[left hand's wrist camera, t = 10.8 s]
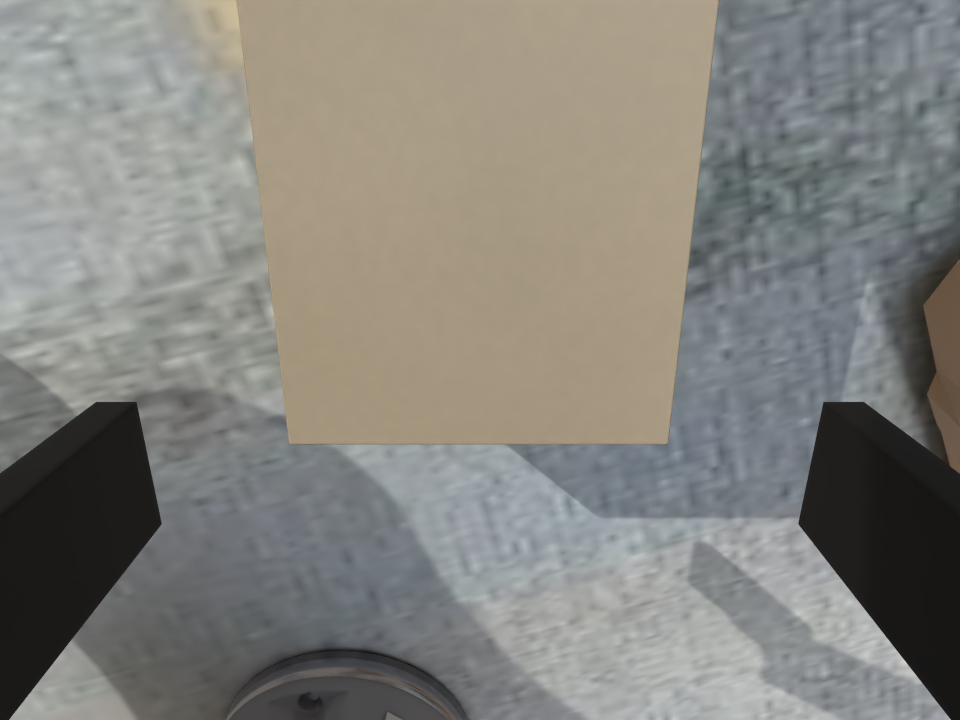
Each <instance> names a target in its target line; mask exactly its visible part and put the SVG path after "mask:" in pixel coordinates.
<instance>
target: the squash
mask: <svg viewBox="0 0 960 720" xmlns="http://www.w3.org/2000/svg"><path fill="white" fill-rule="evenodd" d="M923 308H924V313H925V318H926V322H927V327H928V332H929V337H930V341H931V346H932V351H933V356H934V361H935V365H936V370H937V371H936V374H935V376H934V379H933V381H932V383H931V386H930V388H929V390H928V393H927V395H928V398H929V402H930V405H931V408H932V411H933V414H934V417H935V420H936V423H937V425H938V427H939V429H940V431H941V433H942V437H943V441H944V445H945V449H946V452H947V456H948V460H949V464H950V467H952V468H953V469H954V470H956V471H957V472H958V473H960V259H959V260H958V261H957V263H956V264H955V265H954V266H953V268H952V269H951V270H950V272H949V273H948V274H947V275H946V277H945V278H944V279H943V281H942V282H941V283H940V284H939V286H938V287H937V288H936V290H935V291H934V292H933V293H932V295H931V296H930V297H929V299H928V300H927V301H926V302H925V304H924V305H923Z"/></svg>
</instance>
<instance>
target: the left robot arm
mask: <svg viewBox="0 0 960 720" xmlns="http://www.w3.org/2000/svg"><path fill="white" fill-rule="evenodd" d="M161 524H162V523H161V519H160V514H159V509H158V504H157V499H156V494H155V490H154V485H153V480H152V475H151V470H150V466H149V461H148V456H147V451H146V446H145V441H144V437H143V432H142V427H141V422H140V417H139V413H138V408H137V403H136V402H96V403H94V404H93V405H92V406H90V407H89V408H88V409H86V410H85V411H84V412H82V413H81V414H80V415H78V416H77V417H76V418H74V419H73V420H71V421H70V422H69V423H67V424H66V425H65V426H63V427H62V428H61V429H59V430H58V431H57V432H55V433H54V434H53V435H51V436H50V437H49V438H47V439H46V440H45V441H43V442H42V443H41V444H39V445H38V446H37V447H35V448H34V449H33V450H31V451H30V452H29V453H27V454H26V455H25V456H23V457H22V458H20V459H19V460H18V461H16V462H15V463H14V464H12V465H11V466H10V467H8V468H7V469H6V470H4V471H3V472H2V473H0V720H9V719H10V718H11V716H12V715H13V714H14V713H15V711H16V710H17V709H18V707H19V706H20V705H21V704H22V702H23V701H24V700H25V698H26V697H27V696H28V695H29V693H30V692H31V691H32V689H33V688H34V687H35V686H36V684H37V683H38V682H39V681H40V679H41V678H42V677H43V675H44V674H45V673H46V672H47V670H48V669H49V668H50V666H51V665H52V664H53V663H54V661H55V660H56V659H57V657H58V656H59V655H60V654H61V652H62V651H63V650H64V648H65V647H66V646H67V645H68V643H69V642H70V641H71V640H72V638H73V637H74V636H75V634H76V633H77V632H78V631H79V629H80V628H81V627H82V625H83V624H84V623H85V622H86V620H87V619H88V618H89V616H90V615H91V614H92V613H93V611H94V610H95V609H96V608H97V606H98V605H99V604H100V602H101V601H102V600H103V599H104V597H105V596H106V595H107V593H108V592H109V591H110V590H111V588H112V587H113V586H114V584H115V583H116V582H117V581H118V579H119V578H120V577H121V575H122V574H123V573H124V572H125V570H126V569H127V568H128V567H129V565H130V564H131V563H132V561H133V560H134V559H135V558H136V556H137V555H138V554H139V552H140V551H141V550H142V549H143V547H144V546H145V545H146V543H147V542H148V541H149V540H150V538H151V537H152V536H153V534H154V533H155V532H156V531H157V529H158V528H159V527H160V526H161ZM798 524H799V526H800V527H801V528H802V529H803V531H804V532H805V533H806V534H807V536H808V537H809V538H810V540H811V541H812V542H813V543H814V545H815V546H816V547H817V549H818V550H819V551H820V552H821V554H822V555H823V556H824V558H825V559H826V560H827V561H828V563H829V564H830V565H831V567H832V568H833V569H834V570H835V572H836V573H837V574H838V575H839V577H840V578H841V579H842V581H843V582H844V583H845V584H846V586H847V587H848V588H849V590H850V591H851V592H852V593H853V595H854V596H855V597H856V599H857V600H858V601H859V602H860V604H861V605H862V606H863V608H864V609H865V610H866V611H867V613H868V614H869V615H870V616H871V618H872V619H873V620H874V622H875V623H876V624H877V625H878V627H879V628H880V629H881V631H882V632H883V633H884V634H885V636H886V637H887V638H888V640H889V641H890V642H891V643H892V645H893V646H894V647H895V649H896V650H897V651H898V652H899V654H900V655H901V656H902V657H903V659H904V660H905V661H906V663H907V664H908V665H909V666H910V668H911V669H912V670H913V672H914V673H915V674H916V675H917V677H918V678H919V679H920V681H921V682H922V683H923V684H924V686H925V687H926V688H927V689H928V691H929V692H930V693H931V695H932V696H933V697H934V698H935V700H936V701H937V702H938V704H939V705H940V706H941V707H942V709H943V710H944V711H945V713H946V714H947V715H948V716H949V718H950V719H951V720H960V473H958V472H957V471H956V470H954V469H953V468H952V467H950V466H949V465H948V464H946V463H945V462H944V461H942V460H941V459H940V458H938V457H937V456H935V455H934V454H933V453H931V452H930V451H929V450H927V449H926V448H925V447H923V446H922V445H921V444H919V443H918V442H917V441H915V440H914V439H913V438H911V437H910V436H909V435H907V434H906V433H905V432H903V431H902V430H901V429H899V428H898V427H897V426H895V425H894V424H893V423H891V422H890V421H889V420H887V419H886V418H884V417H883V416H882V415H880V414H879V413H878V412H876V411H875V410H874V409H872V408H871V407H870V406H868V405H867V404H866V403H864V402H824V403H823V408H822V413H821V417H820V422H819V427H818V432H817V437H816V441H815V446H814V451H813V456H812V461H811V466H810V470H809V475H808V480H807V485H806V490H805V494H804V499H803V504H802V509H801V514H800V519H799V523H798ZM225 720H468V719H467V717H466V715H465V713H464V711H463V710H462V708H461V706H460V705H459V704H458V702H457V701H456V700H455V698H454V697H453V696H452V695H451V694H450V693H449V692H448V691H447V690H446V689H445V688H444V687H443V686H441V685H440V684H439V683H438V682H437V681H435V680H434V679H432V678H431V677H429V676H428V675H426V674H425V673H423V672H421V671H419V670H418V669H416V668H414V667H411V666H409V665H407V664H405V663H402V662H400V661H397V660H394V659H391V658H387V657H384V656H380V655H375V654H370V653H363V652H355V651H326V652H316V653H311V654H305V655H301V656H297V657H294V658H291V659H288V660H285V661H282V662H280V663H278V664H276V665H274V666H271V667H269V668H268V669H266V670H264V671H263V672H261V673H260V674H258V675H257V676H256V677H254V678H253V679H252V680H251V681H250V682H248V683H247V684H246V685H245V686H244V687H243V689H242V690H241V691H240V692H239V693H238V695H237V696H236V698H235V699H234V701H233V702H232V704H231V707H230V709H229V711H228V713H227V716H226V718H225Z"/></svg>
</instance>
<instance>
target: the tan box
mask: <svg viewBox="0 0 960 720" xmlns="http://www.w3.org/2000/svg"><path fill="white" fill-rule="evenodd" d="M237 6H238V14H239V23H240V31H241V40H242V48H243V57H244V65H245V74H246V82H247V91H248V99H249V108H250V116H251V125H252V133H253V141H254V150H255V158H256V167H257V175H258V184H259V192H260V201H261V209H262V218H263V226H264V235H265V243H266V252H267V260H268V268H269V277H270V285H271V294H272V302H273V311H274V319H275V328H276V336H277V345H278V353H279V362H280V370H281V379H282V387H283V396H284V404H285V412H286V421H287V429H288V438H289V444H668V440H669V431H670V422H671V414H672V405H673V396H674V388H675V379H676V370H677V362H678V353H679V344H680V336H681V327H682V318H683V310H684V301H685V292H686V284H687V275H688V266H689V258H690V249H691V240H692V232H693V223H694V214H695V206H696V197H697V188H698V180H699V171H700V162H701V154H702V145H703V136H704V128H705V119H706V110H707V102H708V93H709V84H710V76H711V67H712V58H713V50H714V41H715V32H716V24H717V15H718V6H719V0H237Z"/></svg>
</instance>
